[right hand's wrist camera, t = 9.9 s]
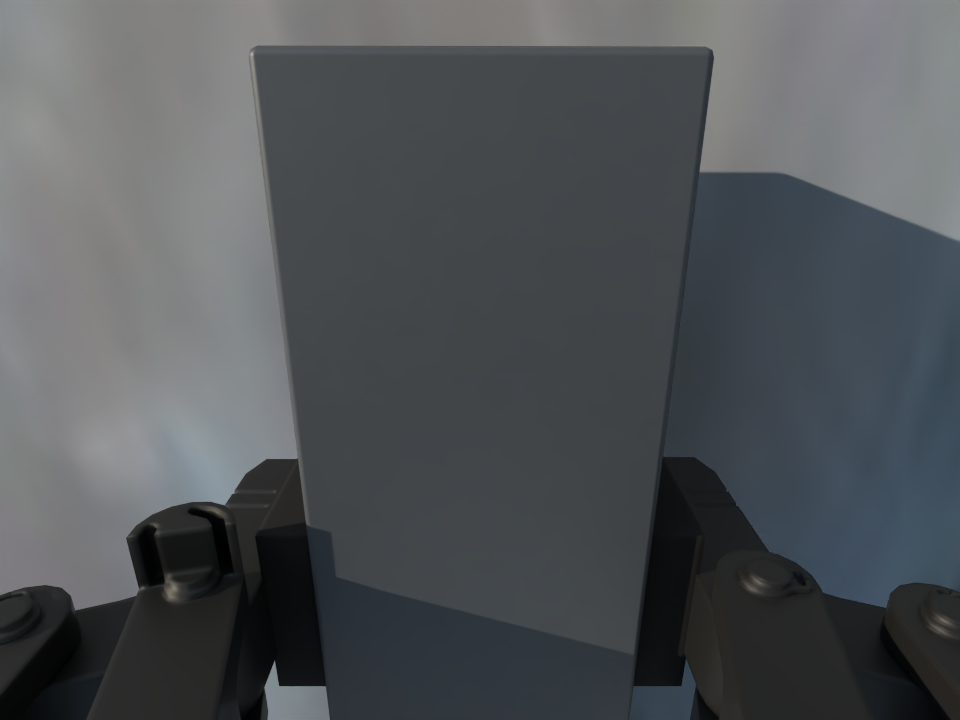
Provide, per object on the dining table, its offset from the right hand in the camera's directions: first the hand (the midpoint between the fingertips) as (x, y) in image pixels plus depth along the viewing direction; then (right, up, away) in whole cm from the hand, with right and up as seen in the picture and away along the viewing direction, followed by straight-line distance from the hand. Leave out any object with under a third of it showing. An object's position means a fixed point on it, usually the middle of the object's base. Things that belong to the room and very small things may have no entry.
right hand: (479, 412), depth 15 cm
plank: (0, -18, +8) cm, 20 cm away
